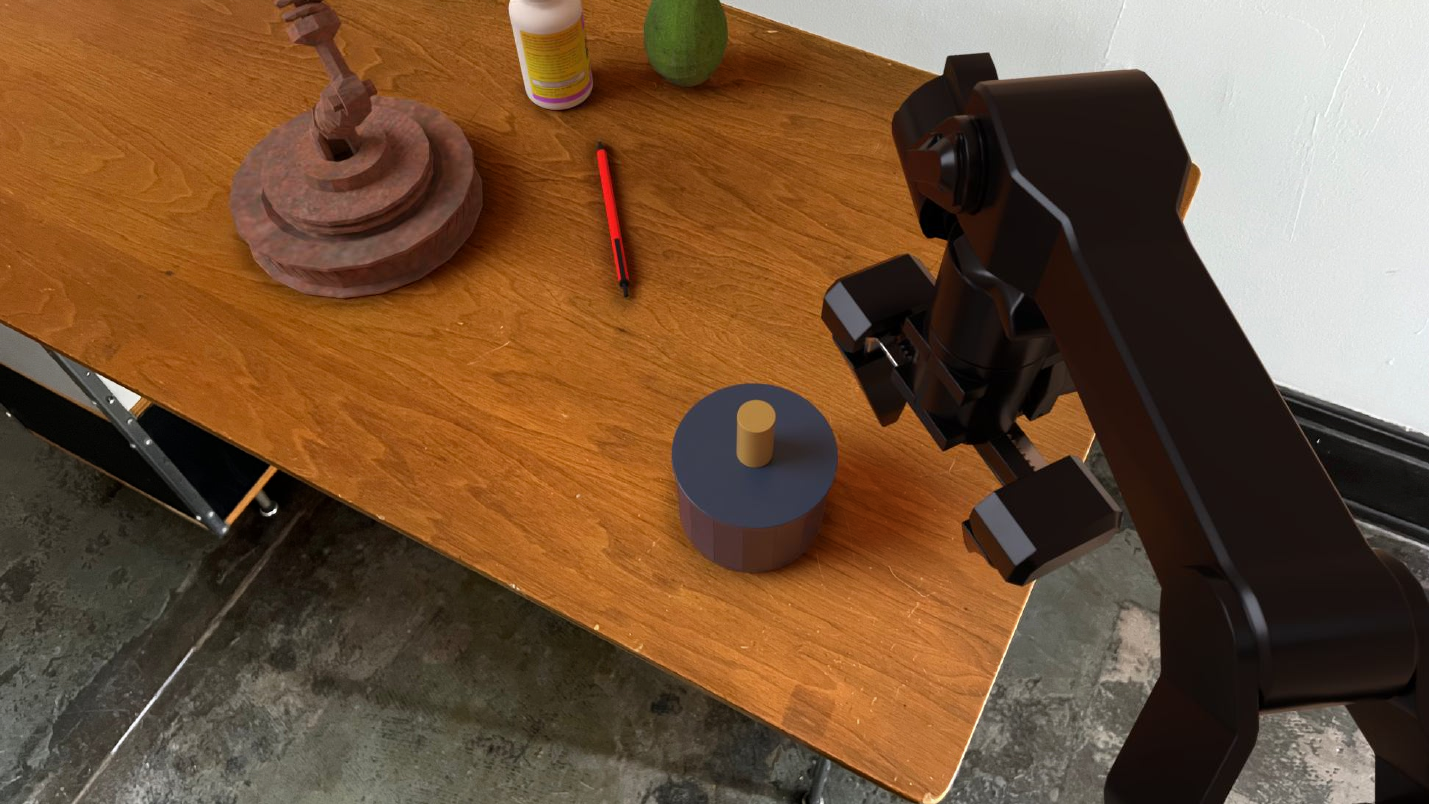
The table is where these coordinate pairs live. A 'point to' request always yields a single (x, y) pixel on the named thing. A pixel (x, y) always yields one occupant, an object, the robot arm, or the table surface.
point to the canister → (749, 540)
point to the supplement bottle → (552, 51)
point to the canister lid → (754, 457)
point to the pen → (613, 219)
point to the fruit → (685, 39)
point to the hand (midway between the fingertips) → (930, 482)
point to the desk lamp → (354, 182)
